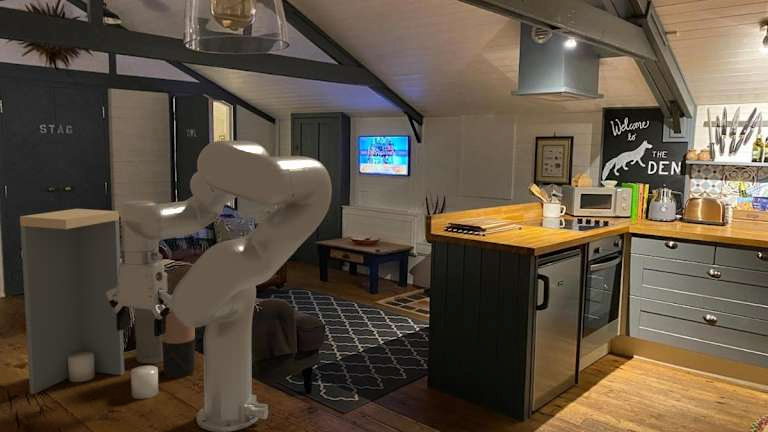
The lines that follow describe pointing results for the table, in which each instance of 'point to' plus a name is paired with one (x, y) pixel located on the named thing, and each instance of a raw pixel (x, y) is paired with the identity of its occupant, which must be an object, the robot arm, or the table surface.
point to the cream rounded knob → (81, 366)
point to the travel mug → (178, 347)
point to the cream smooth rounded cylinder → (144, 382)
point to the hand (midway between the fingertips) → (141, 331)
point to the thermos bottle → (148, 336)
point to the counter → (70, 292)
